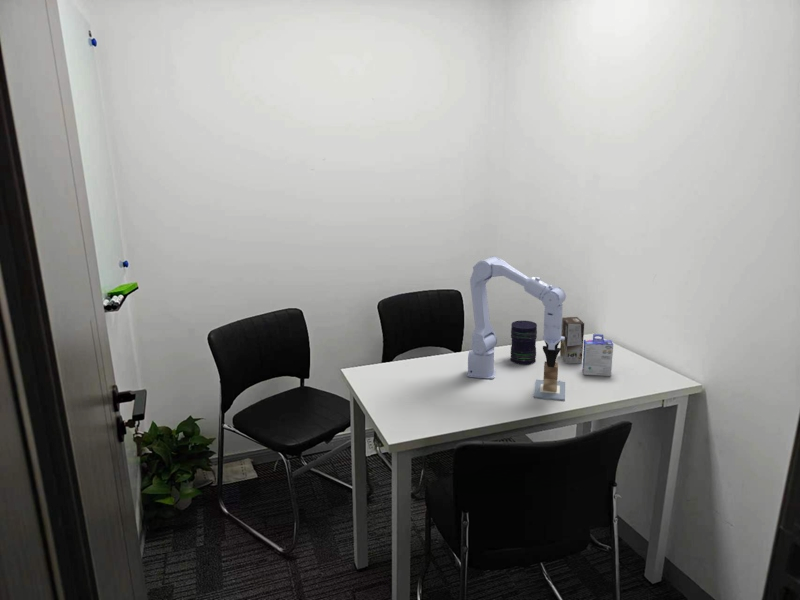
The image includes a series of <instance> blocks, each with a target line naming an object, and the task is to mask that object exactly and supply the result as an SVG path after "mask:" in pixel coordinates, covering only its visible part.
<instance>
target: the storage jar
mask: <svg viewBox="0 0 800 600" xmlns="http://www.w3.org/2000/svg"><path fill="white" fill-rule="evenodd" d="M537 327H538V325H537V323H536V322H534V321H531V320H516V321H513V322H512V323H511V328H510V338H511V346H510V362H511V363H513V364H516V365H520V366H521V365H522V366H530V365H533V364H535V363H536V361H537V360H536V357H537V347H536V345H537V343H536V341H537V337H538V336H537V335H538V331H537V330H538V329H537Z"/></svg>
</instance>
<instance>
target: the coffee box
mask: <svg viewBox="0 0 800 600" xmlns="http://www.w3.org/2000/svg"><path fill="white" fill-rule="evenodd" d="M584 333H585V323H584V321H583V320H581V319H580V318H579V317H578V316H567V317H562V330H561V336H563V337H565V340H561V341H560V344H559V345H560V346H559V348H561V349H560V352H559V356H560V357H561V358H562V359H563V361H564V362H565V363H566V364H583V351H584V337H585V336H584V335H585V334H584Z"/></svg>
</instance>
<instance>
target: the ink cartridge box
mask: <svg viewBox="0 0 800 600" xmlns="http://www.w3.org/2000/svg"><path fill="white" fill-rule="evenodd" d="M597 337H600V338H597ZM613 352H614V343H613V341H612V340H611V339H605V338H604V334H598V333H597V334H595V333H594V334H592V339H583V353H582V369H581V370H582V374H583V375H585V376H603V377H605V376H606V377H612V368H613V355H614V354H613Z"/></svg>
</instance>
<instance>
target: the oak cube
mask: <svg viewBox="0 0 800 600" xmlns="http://www.w3.org/2000/svg"><path fill="white" fill-rule="evenodd" d="M542 380H543V391H550V392H557V381H558V379H557V380H554V379H544V378H543V379H542Z"/></svg>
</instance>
